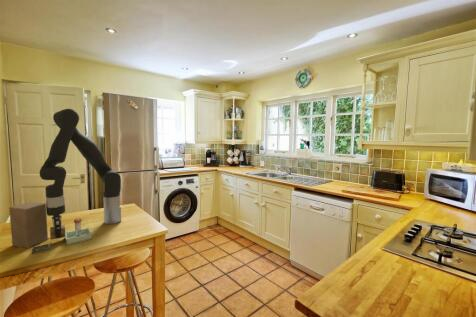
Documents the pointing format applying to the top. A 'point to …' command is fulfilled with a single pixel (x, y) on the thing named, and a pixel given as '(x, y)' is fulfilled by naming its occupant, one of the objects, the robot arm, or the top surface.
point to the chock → (52, 232)
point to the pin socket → (41, 249)
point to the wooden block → (28, 224)
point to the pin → (77, 227)
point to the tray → (72, 238)
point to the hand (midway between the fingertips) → (58, 235)
